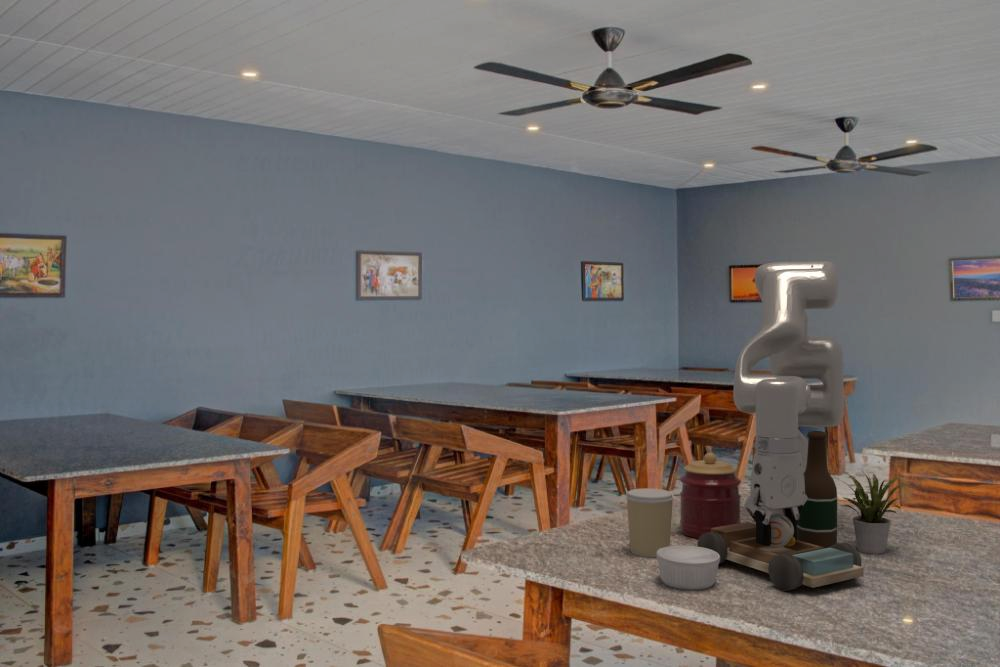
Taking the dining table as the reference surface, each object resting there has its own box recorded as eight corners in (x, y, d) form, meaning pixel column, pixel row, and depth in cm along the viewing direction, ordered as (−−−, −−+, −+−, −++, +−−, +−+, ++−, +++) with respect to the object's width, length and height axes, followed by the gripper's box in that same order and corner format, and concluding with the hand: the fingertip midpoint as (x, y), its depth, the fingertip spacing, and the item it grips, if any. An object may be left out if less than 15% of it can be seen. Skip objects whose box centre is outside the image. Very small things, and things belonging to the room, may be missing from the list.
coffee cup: (678, 548, 180) (678, 490, 180) (666, 560, 171) (666, 499, 171) (633, 544, 184) (633, 486, 184) (620, 555, 175) (620, 495, 175)
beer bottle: (836, 546, 181) (836, 429, 181) (837, 556, 174) (838, 434, 173) (796, 543, 184) (796, 428, 183) (796, 553, 176) (796, 433, 176)
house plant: (927, 550, 178) (928, 469, 178) (903, 564, 168) (904, 479, 167) (856, 538, 188) (856, 461, 187) (829, 551, 178) (830, 470, 177)
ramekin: (708, 596, 150) (708, 565, 150) (646, 586, 156) (646, 556, 156) (728, 579, 159) (728, 550, 159) (669, 570, 165) (669, 542, 165)
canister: (719, 524, 201) (719, 447, 200) (753, 538, 188) (753, 455, 188) (668, 529, 197) (668, 450, 196) (699, 543, 184) (699, 459, 184)
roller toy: (762, 540, 168) (762, 510, 168) (797, 544, 165) (797, 514, 165) (757, 546, 164) (757, 515, 164) (792, 550, 161) (792, 519, 161)
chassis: (690, 558, 172) (690, 528, 172) (753, 547, 181) (753, 517, 181) (804, 598, 148) (804, 562, 148) (871, 582, 157) (871, 549, 157)
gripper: (758, 452, 157) (758, 553, 157) (824, 444, 165) (824, 540, 166) (727, 446, 163) (727, 543, 163) (793, 439, 172) (792, 532, 172)
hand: (776, 541), depth 165 cm, fingers closed on roller toy, 6 cm apart
